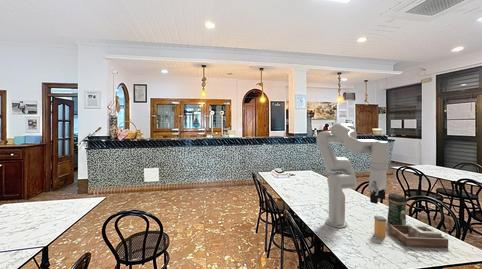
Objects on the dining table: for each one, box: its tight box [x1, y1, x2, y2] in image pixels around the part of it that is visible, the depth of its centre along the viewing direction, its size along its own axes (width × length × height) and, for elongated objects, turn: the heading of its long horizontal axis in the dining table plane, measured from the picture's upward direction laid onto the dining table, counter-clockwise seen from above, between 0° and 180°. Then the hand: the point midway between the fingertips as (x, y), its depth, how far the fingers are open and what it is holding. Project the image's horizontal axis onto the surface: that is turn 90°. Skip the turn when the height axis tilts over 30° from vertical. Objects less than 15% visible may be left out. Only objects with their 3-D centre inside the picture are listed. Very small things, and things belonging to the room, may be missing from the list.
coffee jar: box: [386, 192, 408, 225], centre depth 146 cm, size 10×8×19 cm
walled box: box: [388, 224, 449, 249], centre depth 125 cm, size 16×20×6 cm
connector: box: [373, 215, 388, 238], centre depth 130 cm, size 4×4×10 cm
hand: (377, 200), depth 113 cm, fingers open, 9 cm apart
